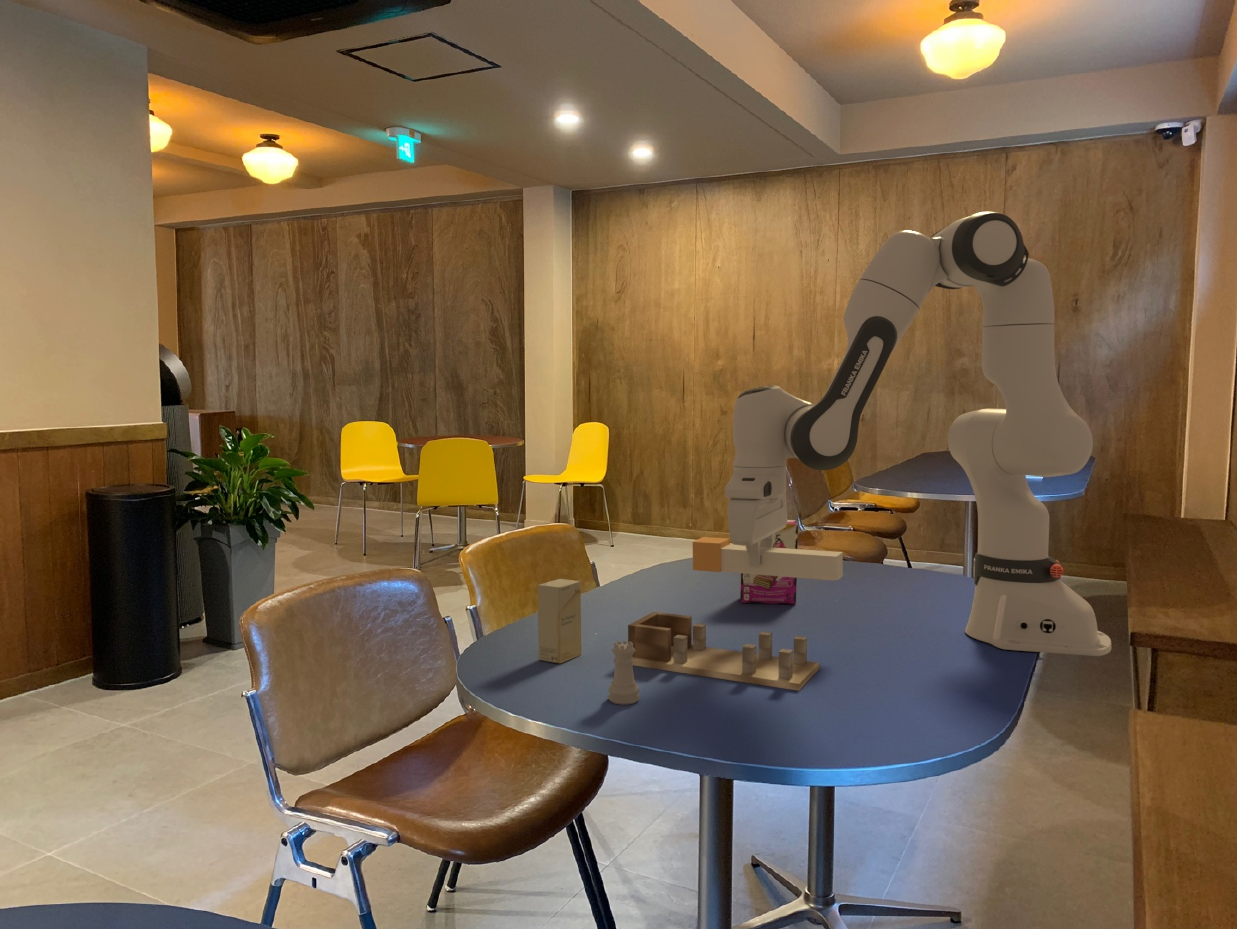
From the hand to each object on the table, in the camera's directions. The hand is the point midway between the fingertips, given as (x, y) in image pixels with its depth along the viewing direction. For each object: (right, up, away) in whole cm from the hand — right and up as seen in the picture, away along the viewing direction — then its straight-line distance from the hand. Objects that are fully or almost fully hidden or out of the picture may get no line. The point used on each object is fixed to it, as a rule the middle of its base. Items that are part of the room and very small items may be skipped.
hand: (760, 562), depth 155 cm
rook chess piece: (-24, -16, -30) cm, 41 cm away
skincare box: (-34, -14, -10) cm, 38 cm away
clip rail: (-9, -14, -15) cm, 23 cm away
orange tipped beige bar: (+1, -2, 0) cm, 2 cm away
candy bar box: (+6, -11, +27) cm, 30 cm away
